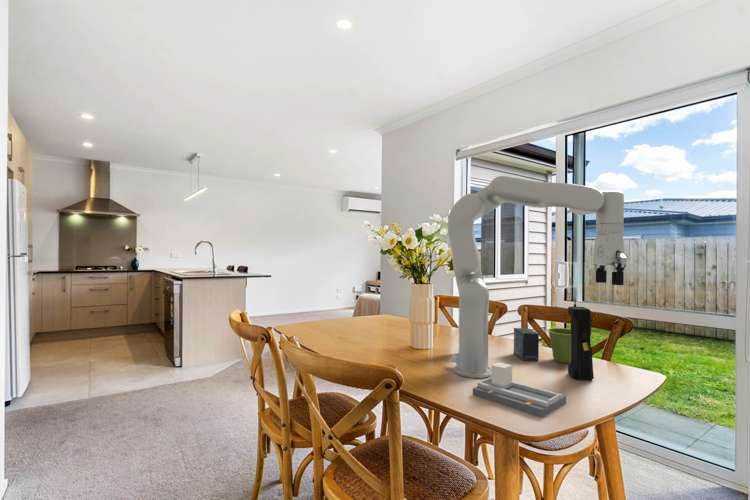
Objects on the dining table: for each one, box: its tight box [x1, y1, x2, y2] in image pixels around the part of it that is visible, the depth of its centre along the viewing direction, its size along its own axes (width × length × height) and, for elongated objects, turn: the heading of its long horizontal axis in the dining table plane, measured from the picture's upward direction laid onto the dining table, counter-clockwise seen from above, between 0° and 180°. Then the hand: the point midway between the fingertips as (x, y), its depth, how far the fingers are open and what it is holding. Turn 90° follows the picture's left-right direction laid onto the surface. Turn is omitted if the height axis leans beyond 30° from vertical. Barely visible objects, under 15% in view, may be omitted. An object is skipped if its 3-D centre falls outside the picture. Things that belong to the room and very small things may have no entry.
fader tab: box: [490, 362, 513, 389], centre depth 112 cm, size 4×6×6 cm
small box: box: [513, 327, 540, 362], centre depth 152 cm, size 11×6×10 cm, turn 179°
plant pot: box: [546, 327, 571, 364], centre depth 147 cm, size 12×12×11 cm
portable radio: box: [567, 298, 595, 382], centre depth 127 cm, size 8×6×25 cm
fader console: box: [472, 376, 567, 419], centre depth 108 cm, size 20×14×3 cm
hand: (608, 283), depth 124 cm, fingers open, 9 cm apart
